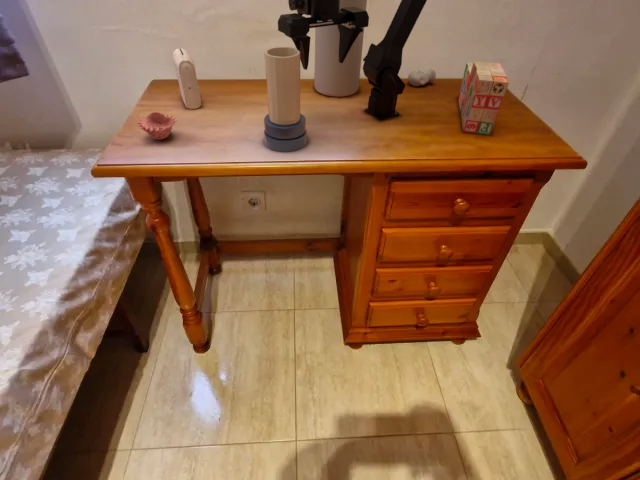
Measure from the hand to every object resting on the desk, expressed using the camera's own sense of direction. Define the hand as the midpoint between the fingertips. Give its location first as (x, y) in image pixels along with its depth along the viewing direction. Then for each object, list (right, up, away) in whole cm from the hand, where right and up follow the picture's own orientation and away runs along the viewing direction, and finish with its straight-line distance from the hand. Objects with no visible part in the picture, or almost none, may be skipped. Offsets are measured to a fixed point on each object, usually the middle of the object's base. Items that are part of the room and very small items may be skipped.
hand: (323, 65), depth 82 cm
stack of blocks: (+38, -6, +14) cm, 41 cm away
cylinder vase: (+4, +5, +25) cm, 26 cm away
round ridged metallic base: (-8, -16, +1) cm, 18 cm away
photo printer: (-34, -2, +16) cm, 38 cm away
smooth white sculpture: (+29, +8, +29) cm, 42 cm away
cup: (-8, -12, -2) cm, 15 cm away
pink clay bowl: (-36, -15, +1) cm, 39 cm away
